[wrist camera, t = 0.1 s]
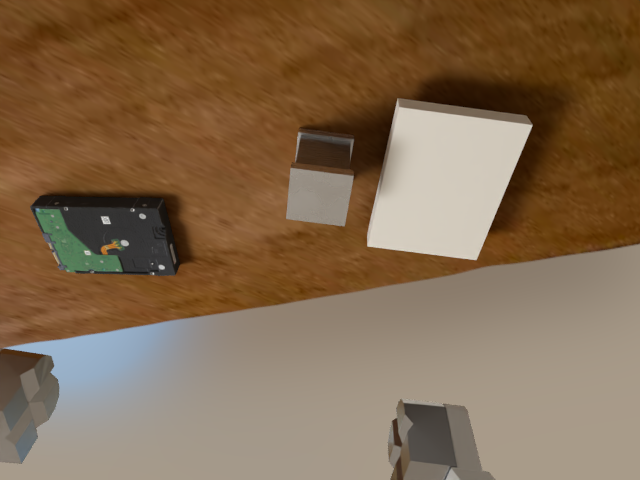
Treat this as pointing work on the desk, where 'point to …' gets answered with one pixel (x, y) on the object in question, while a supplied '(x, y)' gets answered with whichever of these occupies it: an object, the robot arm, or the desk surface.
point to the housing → (321, 177)
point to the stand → (444, 177)
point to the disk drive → (108, 234)
